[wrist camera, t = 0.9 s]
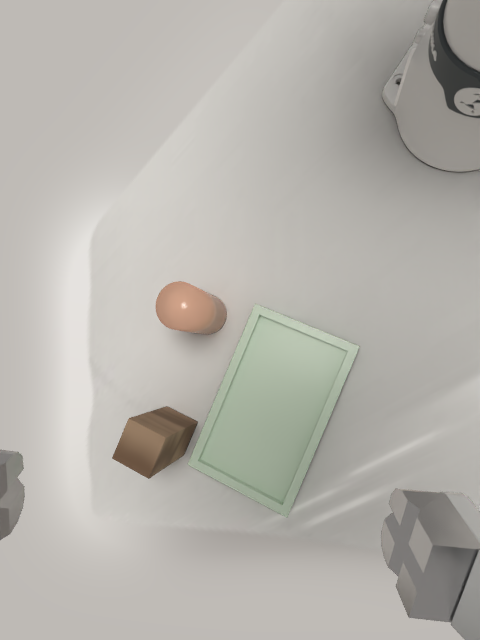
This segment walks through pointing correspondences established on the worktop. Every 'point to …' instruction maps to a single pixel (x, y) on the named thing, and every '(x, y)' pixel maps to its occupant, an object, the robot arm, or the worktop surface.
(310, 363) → the tray
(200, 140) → the worktop surface
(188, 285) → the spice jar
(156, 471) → the walnut block
